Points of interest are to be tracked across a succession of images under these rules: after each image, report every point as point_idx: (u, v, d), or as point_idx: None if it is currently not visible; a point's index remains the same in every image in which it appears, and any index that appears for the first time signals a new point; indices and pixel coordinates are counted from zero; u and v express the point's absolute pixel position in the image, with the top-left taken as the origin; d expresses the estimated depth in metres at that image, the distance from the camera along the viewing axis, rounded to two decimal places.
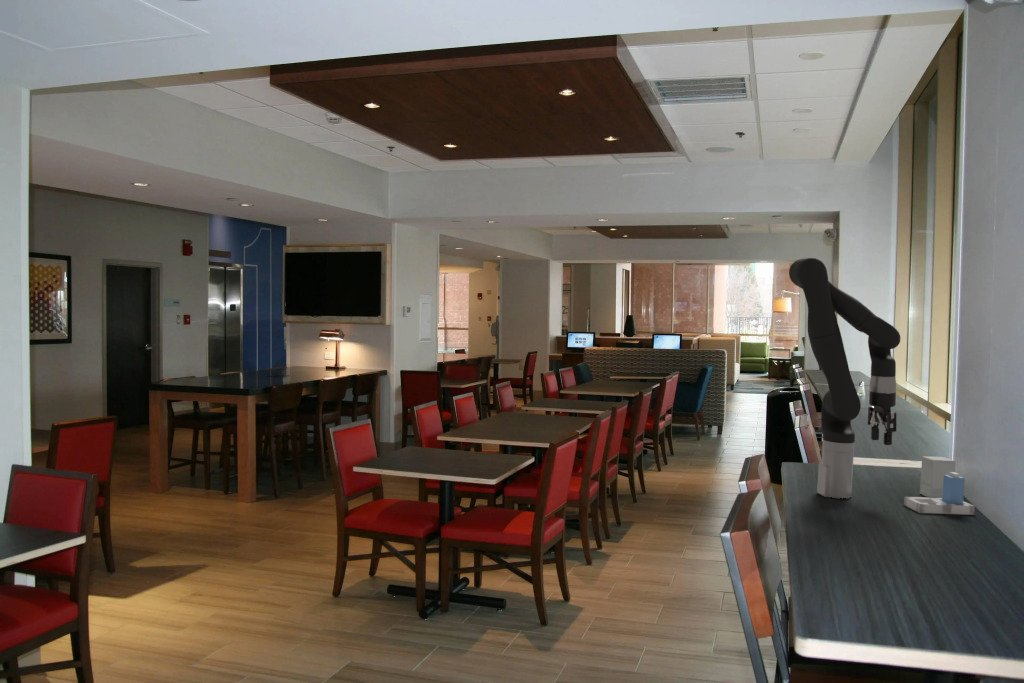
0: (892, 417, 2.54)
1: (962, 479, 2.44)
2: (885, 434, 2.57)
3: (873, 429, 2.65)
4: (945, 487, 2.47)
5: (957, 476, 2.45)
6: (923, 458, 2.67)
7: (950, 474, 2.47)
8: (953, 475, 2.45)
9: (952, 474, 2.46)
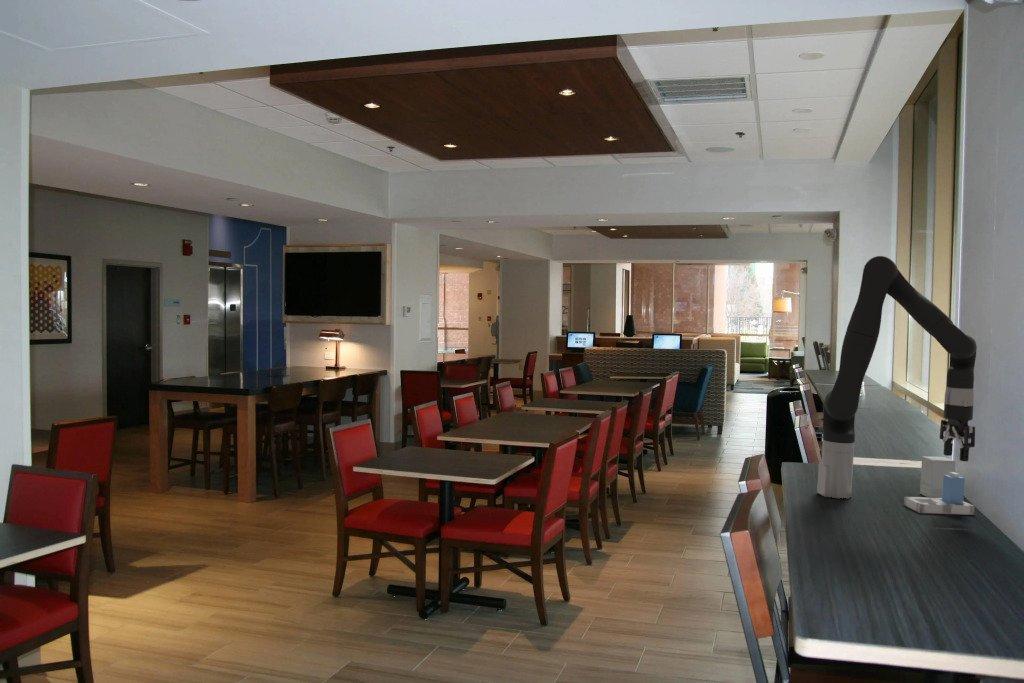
0: (970, 432, 2.39)
1: (962, 479, 2.44)
2: (962, 449, 2.41)
3: (946, 444, 2.50)
4: (945, 487, 2.47)
5: (957, 476, 2.45)
6: (923, 458, 2.67)
7: (950, 474, 2.47)
8: (953, 475, 2.45)
9: (952, 474, 2.46)
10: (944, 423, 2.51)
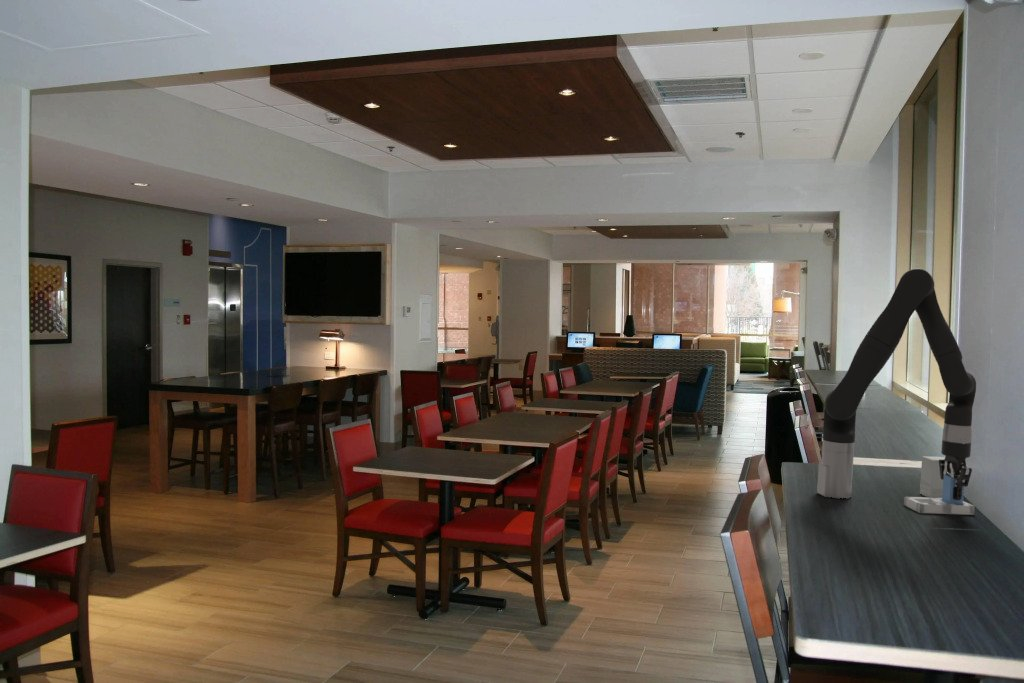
0: (966, 474, 2.40)
1: None
2: (955, 488, 2.44)
3: None
4: (945, 487, 2.47)
5: None
6: (923, 458, 2.67)
7: (950, 474, 2.47)
8: None
9: None
10: (942, 462, 2.51)
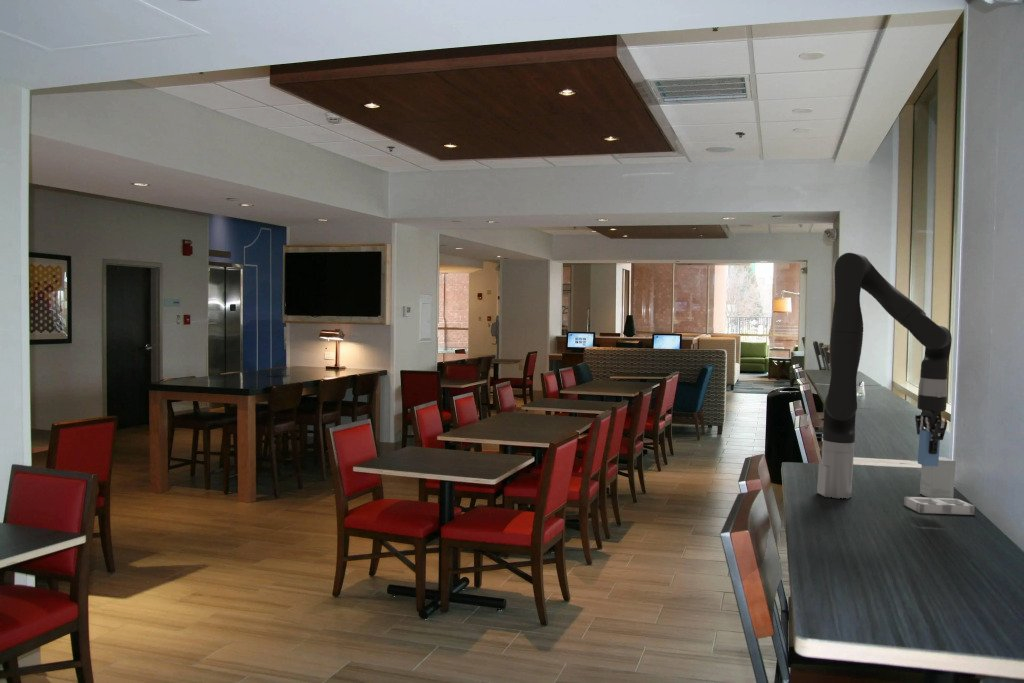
0: (942, 427, 2.39)
1: None
2: (930, 442, 2.43)
3: None
4: (921, 442, 2.46)
5: None
6: None
7: (926, 429, 2.46)
8: None
9: None
10: (918, 417, 2.51)
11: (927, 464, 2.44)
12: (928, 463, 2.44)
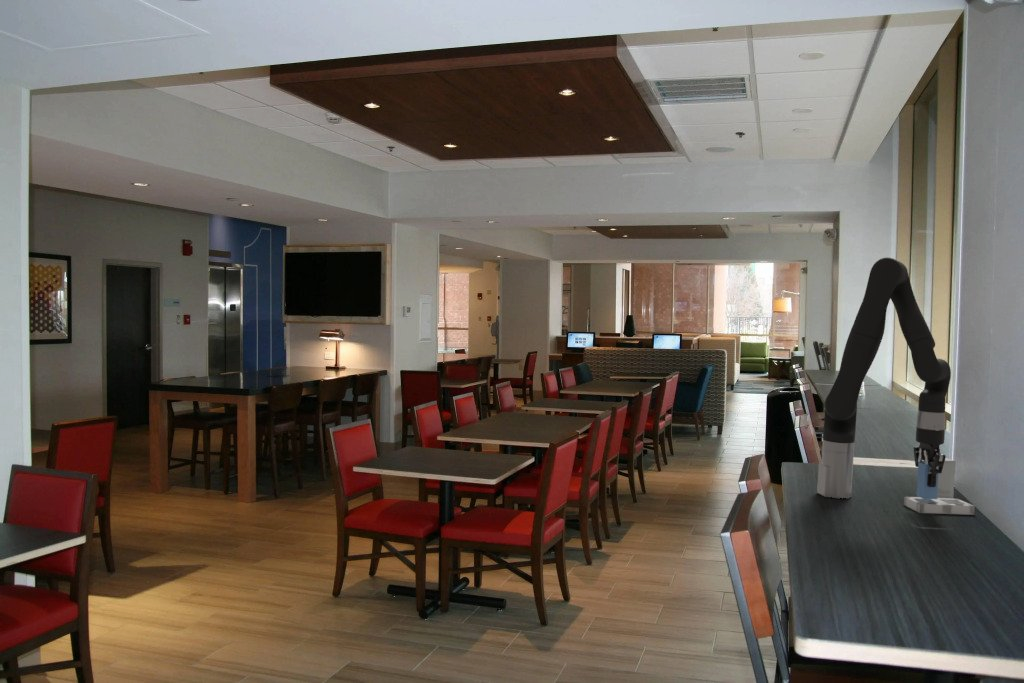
0: (940, 460, 2.40)
1: None
2: (929, 475, 2.43)
3: None
4: (919, 475, 2.47)
5: None
6: None
7: (924, 461, 2.47)
8: None
9: None
10: (917, 450, 2.51)
11: (926, 497, 2.44)
12: (927, 495, 2.44)
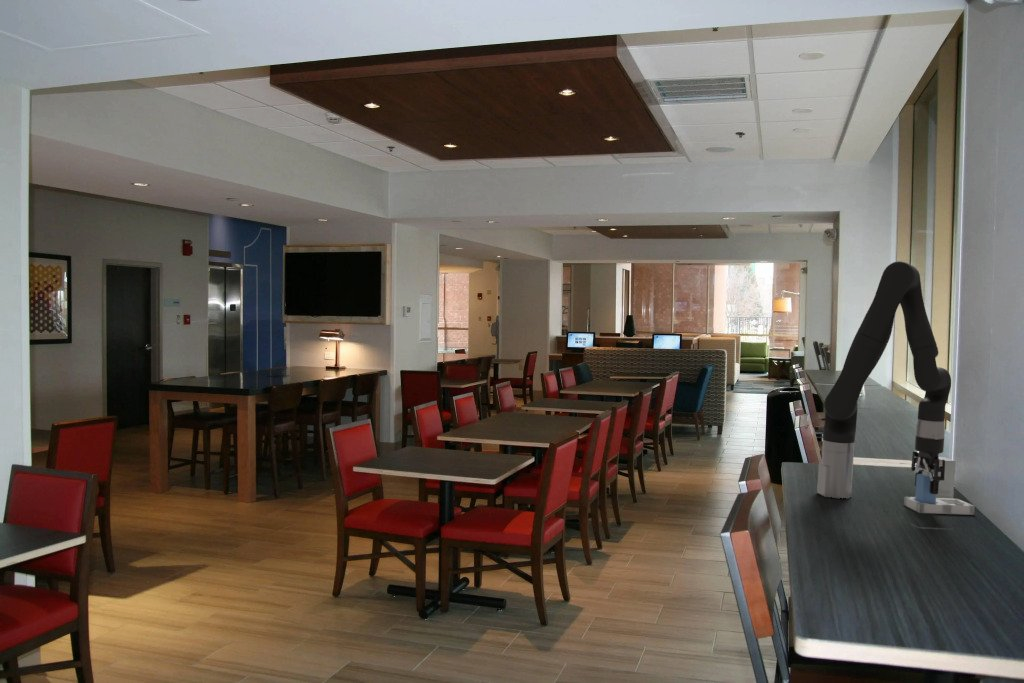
0: (940, 465, 2.39)
1: None
2: (931, 482, 2.42)
3: None
4: (918, 486, 2.47)
5: None
6: None
7: (923, 473, 2.47)
8: (926, 474, 2.45)
9: (925, 473, 2.46)
10: (916, 455, 2.51)
11: None
12: None
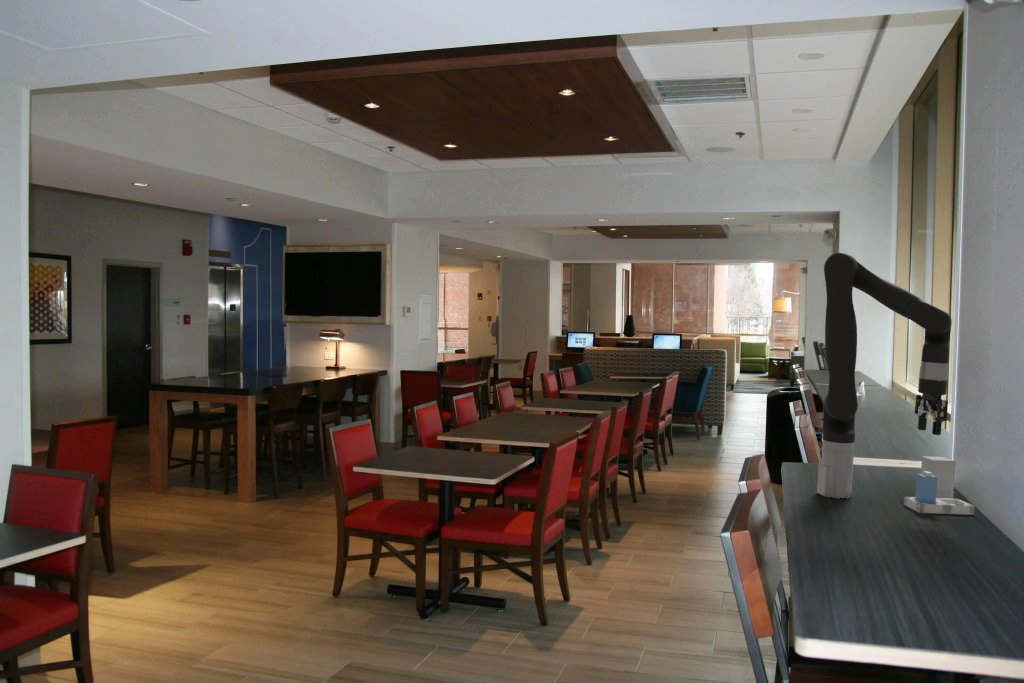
0: (943, 405, 2.41)
1: (935, 478, 2.44)
2: (934, 423, 2.43)
3: (920, 418, 2.52)
4: (918, 486, 2.47)
5: (930, 475, 2.45)
6: (923, 458, 2.67)
7: (923, 473, 2.47)
8: (926, 474, 2.45)
9: (925, 473, 2.46)
10: (919, 398, 2.53)
11: None
12: None
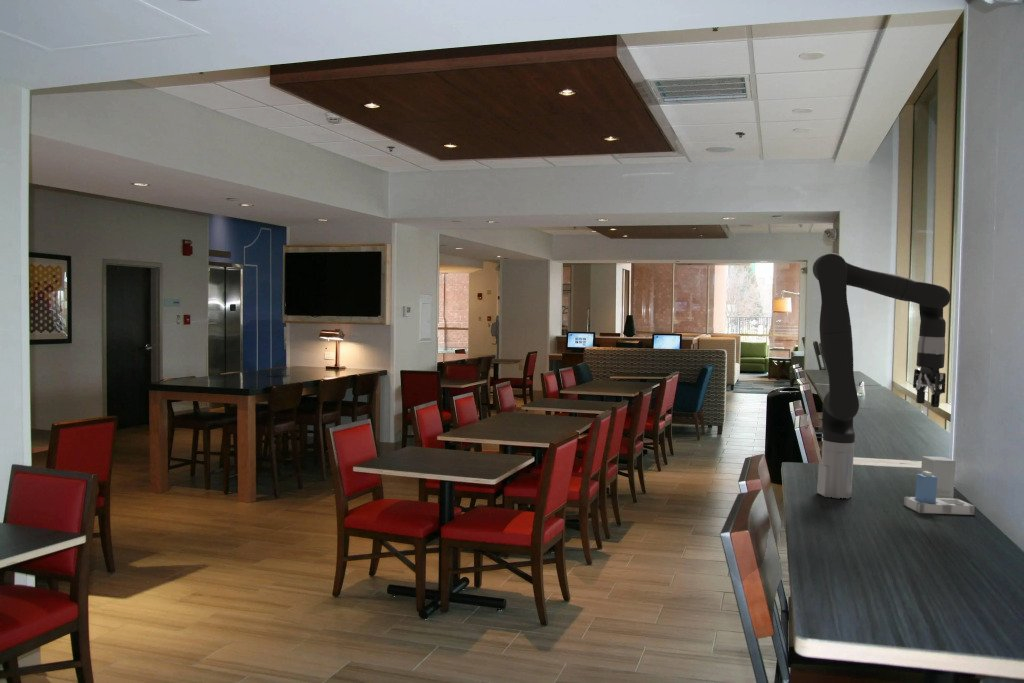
0: (941, 378, 2.48)
1: (935, 478, 2.44)
2: (933, 396, 2.50)
3: (919, 392, 2.59)
4: (918, 486, 2.47)
5: (930, 475, 2.45)
6: (923, 458, 2.67)
7: (923, 473, 2.47)
8: (926, 474, 2.45)
9: (925, 473, 2.46)
10: (917, 372, 2.60)
11: None
12: None
